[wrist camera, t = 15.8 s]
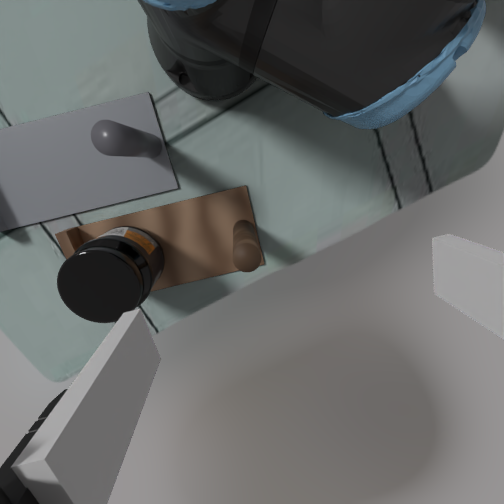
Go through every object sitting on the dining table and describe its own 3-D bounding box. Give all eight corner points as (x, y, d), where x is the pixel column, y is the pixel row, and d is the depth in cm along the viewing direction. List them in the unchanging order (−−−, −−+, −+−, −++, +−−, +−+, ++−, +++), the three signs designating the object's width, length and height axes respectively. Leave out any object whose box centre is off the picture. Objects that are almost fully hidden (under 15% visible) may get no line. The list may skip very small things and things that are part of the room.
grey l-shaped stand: (148, 92, 38) (101, 54, 25) (178, 187, 42) (152, 200, 29) (-49, 142, 39) (-202, 131, 25) (-1, 231, 43) (-111, 264, 29)
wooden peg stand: (245, 185, 43) (251, 196, 29) (264, 263, 47) (276, 305, 33) (67, 228, 43) (-9, 259, 30) (101, 302, 47) (47, 359, 34)
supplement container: (119, 210, 43) (76, 228, 31) (179, 248, 45) (160, 278, 33) (86, 264, 45) (35, 299, 33) (145, 298, 47) (117, 341, 36)
